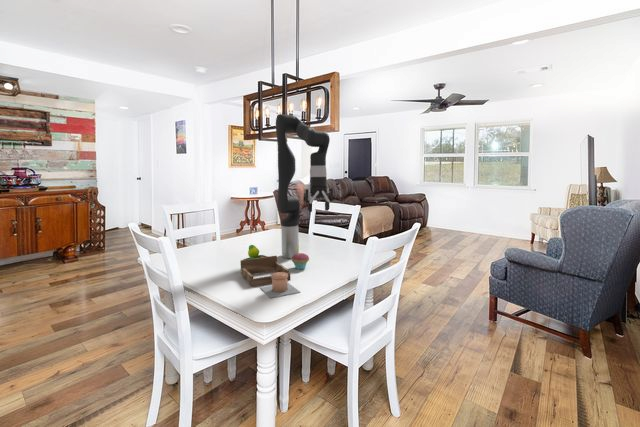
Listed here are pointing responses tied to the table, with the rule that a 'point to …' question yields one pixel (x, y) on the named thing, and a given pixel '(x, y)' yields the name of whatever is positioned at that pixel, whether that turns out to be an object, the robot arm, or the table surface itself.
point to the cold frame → (261, 269)
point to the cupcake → (300, 259)
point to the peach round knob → (279, 282)
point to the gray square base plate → (277, 294)
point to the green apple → (254, 253)
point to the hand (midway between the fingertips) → (318, 211)
